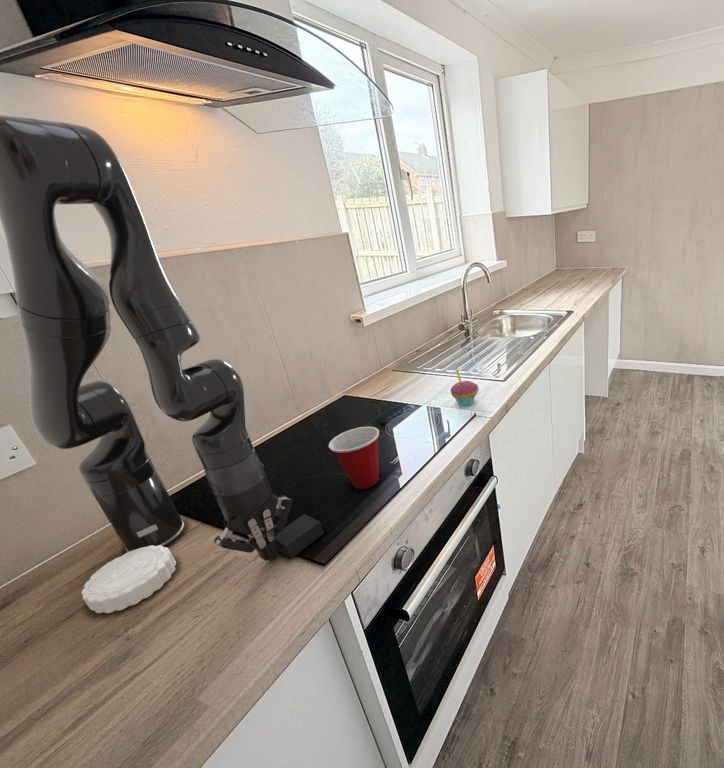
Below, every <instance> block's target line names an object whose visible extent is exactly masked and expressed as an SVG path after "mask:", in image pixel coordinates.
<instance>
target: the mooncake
mask: <svg viewBox="0 0 724 768" xmlns="http://www.w3.org/2000/svg"><path fill="white" fill-rule="evenodd" d="M176 565H177V561H176V560H175V558H174V556H173V554H172V552H171V551H170V549H169V548H168V547H166V546H165V547H163V546H161V545H158V546H153V545H151V546H148V547H142V548H138V549H136V550H132V551H130V552H127V551H126V552H125V553H124V554H123V555H122V556H119V557H116V558H114V559H111V561H109V562H107V563H106V564H105V565H103V566H102V567H101V568H99V569H98V570H97V571H95V572H94V573H93V574H92V575H91V576H90V578H89V580H87V581H86V582H85V584H84V585H83V589H82V590H81V595H82V600H83V601H84V603H85V604H86V606H87V607H88V609H90V611H94V613H96V614H103V613H104V614H110V613H114V612H115V611H116V612H120V611H123V610H125V609H126V608H128V607H132V606H135V605H137V604H139V603H140V602H141V601H142V600H144V599H145V600H146V599H147V598H149V597H151V596H152V595H153V594H154V592H156V591H158V590H160V589H161V588H162V587H163V586H164V585H165V583H166V582H168V581H169V580H170V579H171V577H172V574H174V572H175V571H176V567H175V566H176Z"/></svg>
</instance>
